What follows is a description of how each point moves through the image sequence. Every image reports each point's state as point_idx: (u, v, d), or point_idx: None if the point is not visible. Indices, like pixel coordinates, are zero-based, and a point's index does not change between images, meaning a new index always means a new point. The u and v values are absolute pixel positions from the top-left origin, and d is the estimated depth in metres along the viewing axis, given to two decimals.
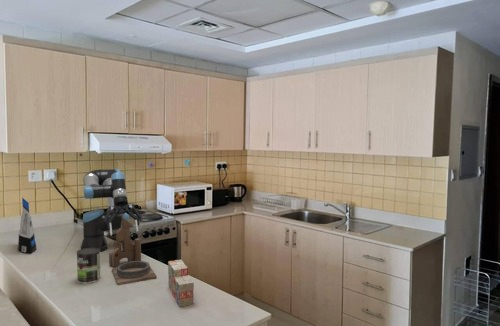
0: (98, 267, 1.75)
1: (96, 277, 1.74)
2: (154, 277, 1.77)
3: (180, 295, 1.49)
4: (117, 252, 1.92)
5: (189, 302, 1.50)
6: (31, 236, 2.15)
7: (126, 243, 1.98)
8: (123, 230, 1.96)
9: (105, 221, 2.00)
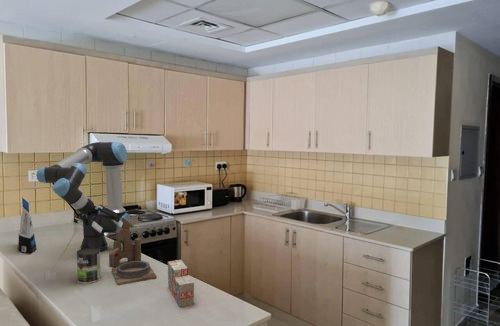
0: (98, 267, 1.75)
1: (96, 277, 1.74)
2: (154, 277, 1.77)
3: (180, 295, 1.48)
4: (117, 252, 1.92)
5: (189, 302, 1.50)
6: (31, 236, 2.15)
7: (126, 243, 1.98)
8: (123, 230, 1.96)
9: (86, 225, 1.87)
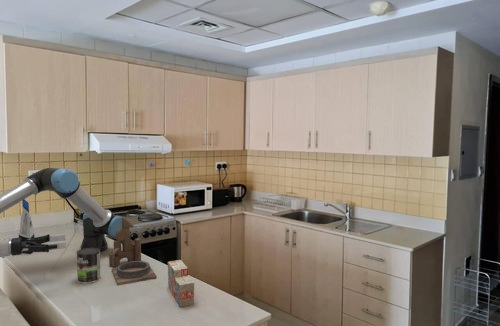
0: (98, 267, 1.75)
1: (96, 277, 1.74)
2: (154, 277, 1.77)
3: (181, 295, 1.48)
4: (117, 252, 1.92)
5: (189, 302, 1.50)
6: (31, 236, 2.15)
7: (126, 243, 1.98)
8: (123, 230, 1.96)
9: None
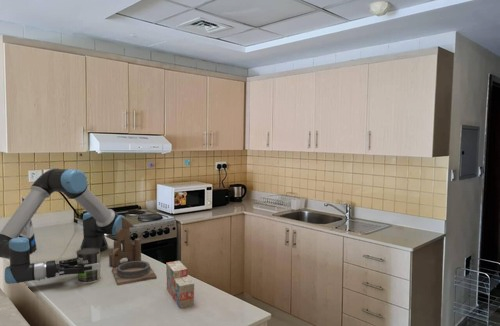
0: None
1: (96, 277, 1.74)
2: (154, 277, 1.77)
3: (181, 296, 1.47)
4: (117, 252, 1.92)
5: (189, 303, 1.49)
6: (31, 236, 2.15)
7: (126, 243, 1.98)
8: (123, 230, 1.96)
9: None
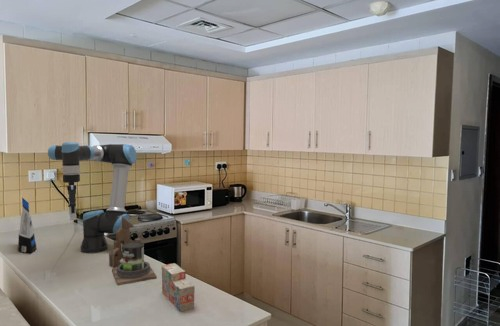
0: (142, 260, 1.81)
1: None
2: (154, 277, 1.77)
3: (181, 299, 1.45)
4: (117, 252, 1.92)
5: (190, 306, 1.47)
6: (31, 236, 2.15)
7: None
8: (123, 230, 1.96)
9: None
